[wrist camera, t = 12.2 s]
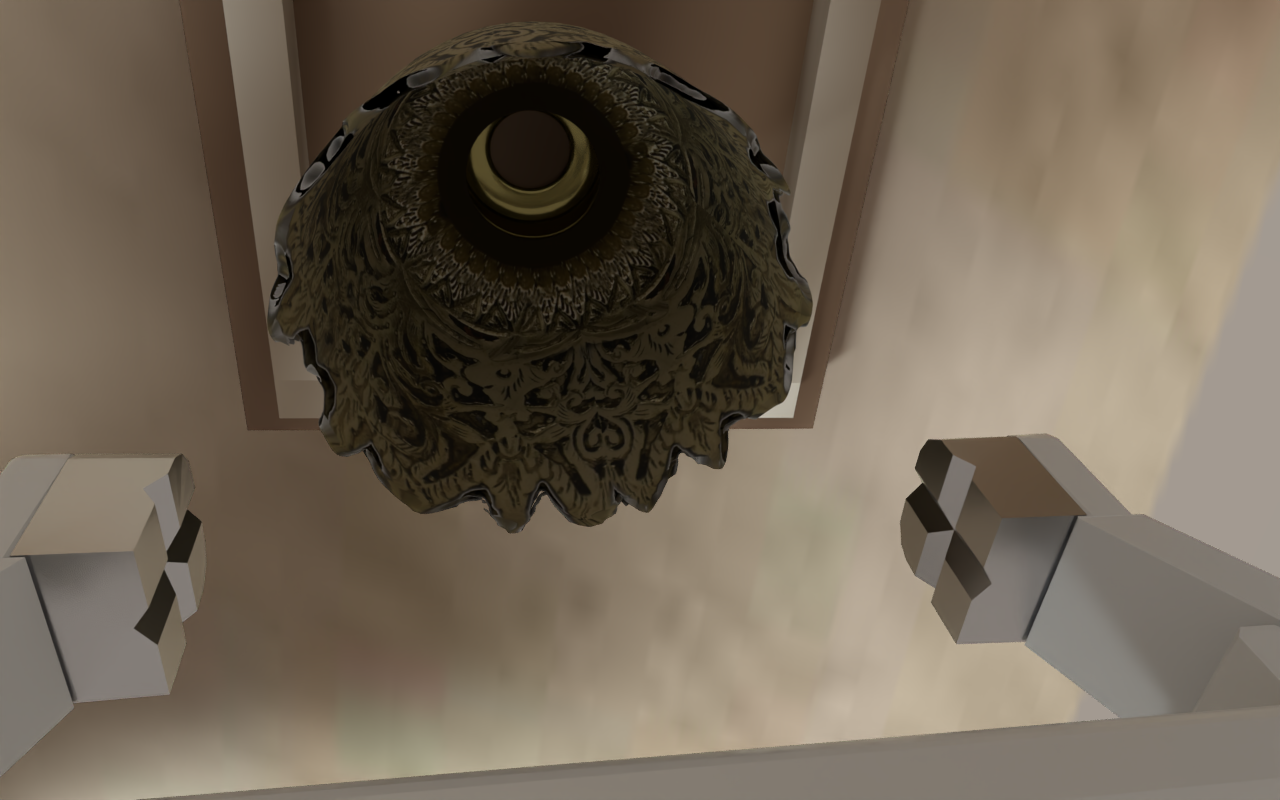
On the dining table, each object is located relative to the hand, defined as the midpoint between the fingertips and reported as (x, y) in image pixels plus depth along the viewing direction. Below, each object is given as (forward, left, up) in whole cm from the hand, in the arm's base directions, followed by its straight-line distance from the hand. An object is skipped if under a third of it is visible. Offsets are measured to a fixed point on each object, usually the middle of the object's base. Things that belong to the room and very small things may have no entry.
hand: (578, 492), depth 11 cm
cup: (0, 0, -11) cm, 11 cm away
